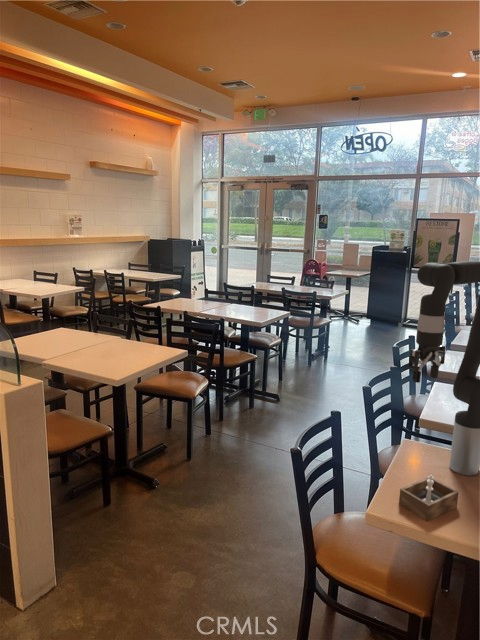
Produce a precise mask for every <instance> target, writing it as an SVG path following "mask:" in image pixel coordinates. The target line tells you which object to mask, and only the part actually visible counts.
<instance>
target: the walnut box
mask: <svg viewBox="0 0 480 640" xmlns="http://www.w3.org/2000/svg"><path fill="white" fill-rule="evenodd" d="M428 479H429V478H428V477H426V478H424V479H420V480H418V481H416V482H414V483H412V484H409V485H405V486H404V487H402V488H400V489H399V498H398V504H399V505H400V506H401V507H403V508H405V509H407V510H408V511H410V512H411V513H413V514H414V515H416V516H417V517H419V518H421V519H422V520H424V521H426V522H429V521H432V520H434V519H436V518H437V517H439V516H441V515H444V514H446V513H448V512H450V511H452V510H453V509H456V508H457V507H458V499H459V491H458V490H456V489H453V488H452V487H450V486H448V485H447V484H444V483H442V482H440V481H438V480H437V479H435V478H434V479H432V480H433V481H434V483H433V485H432V488H433V490H432V491H431V500H432V501H433V502H431V503H429V504H428V503H426V502H425V501H423V500H421V499H425V498H426V495H427V489H426V486H428V484H427V480H428Z"/></svg>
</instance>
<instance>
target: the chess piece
mask: <svg viewBox="0 0 480 640" xmlns="http://www.w3.org/2000/svg"><path fill="white" fill-rule="evenodd" d="M427 478H429V479H428V480H427V484H428V486H426V489H427V495H426V497H424V498H422V499H421V500H423V501H425V502H426V503H428V504H429V503H431V502H433V501H432V500H431V491H432V490H433V488H432V485H433V483H434V481H433V480H432V479H435V477H434V476H433V475H432V474H429V476H427Z"/></svg>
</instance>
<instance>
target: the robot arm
mask: <svg viewBox="0 0 480 640" xmlns="http://www.w3.org/2000/svg"><path fill="white" fill-rule="evenodd" d="M416 275H417V276H416V277H417V280H418V281H419V282H420V284H422V285H424V286H426V287H431V288H433V289H432V292H431V293H428V294H424V295H422V296H421V298H420V304H419V305H420V306H419V307H420V308H419V314H418V320H417V328H416V336H415V337H416V339H415V342H416V344H417V345H418V347H417V349H414V348H411V349H410V352H409V357H408V358H409V359H408V369H411V370H412V371H413V372H412V382H414V383H421V378H422V377H421V375H422V369H423V368H424V366H426V365H427V363H430V364H431V366H430V372H429V373H430V374H429V375H430V378H433V379H438V378H439V370H440V369H439V368H440V367H441V366H442V365H444V364H445V359H446V345H443V340H444V332H445V331H444V330H445V314H446V304H447V301H448V298H449V296H450V293H451V292H452V291H451V290H452V288H453V286H455V285H457V286H459V285H466V284H475V283H477V284H478V283H480V260H463V261H454V262H427V263H424V264H423V265H421V266H420V267H419V269H418V271H417V274H416ZM464 350H465V351H464V354H463V357H462V360H461V363H460V366H459V368H458V371H457V374H456V376H455V380H454V382H453V386H452V393H453V396H454V398H455V399H456V400H459V401H460V402H463V403H464V404H466V405H467V406H468V407H467V410H460V411H457V412H456V413H455V416H454V422H453V432H452V439H451V440H452V441H451V448H450V449H451V450H450V455H449V456H450V458H449V464H448V465H449V466H448V467H449V468H450V469H451V470H452V471H453V472H455V473H457V474H459V475H462V476H469V477H470V476H476V475H478V474H479V470H480V378H477V373H478V371H479V367H480V292H479V294H478V300H477V305H476V308H475V312H474V316H473V319H472V322H471V326H470V331H469V335H468V339H467V343H466V346H465V349H464Z"/></svg>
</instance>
